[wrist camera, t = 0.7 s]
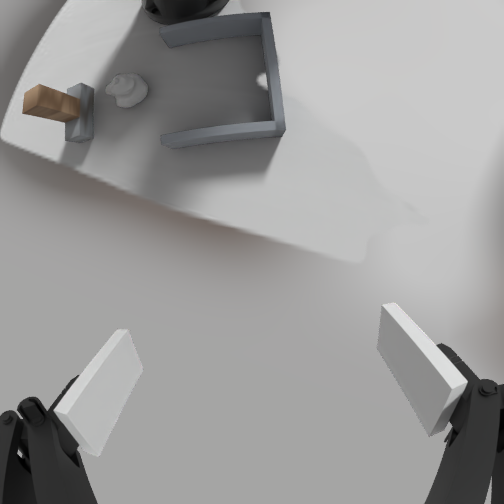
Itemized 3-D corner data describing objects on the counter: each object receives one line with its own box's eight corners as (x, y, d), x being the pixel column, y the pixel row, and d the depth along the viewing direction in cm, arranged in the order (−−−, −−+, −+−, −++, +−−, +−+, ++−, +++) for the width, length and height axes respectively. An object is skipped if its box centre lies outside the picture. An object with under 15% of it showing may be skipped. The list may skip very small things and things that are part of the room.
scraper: (80, 94, 33) (27, 74, 19) (94, 88, 32) (42, 64, 19) (79, 142, 35) (21, 135, 21) (93, 138, 35) (35, 127, 21)
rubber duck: (147, 111, 34) (124, 96, 26) (111, 110, 34) (84, 98, 26) (156, 78, 32) (136, 59, 25) (120, 79, 32) (95, 62, 24)
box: (169, 42, 31) (159, 27, 26) (268, 28, 30) (269, 12, 25) (172, 148, 35) (161, 144, 30) (281, 136, 35) (285, 129, 30)
